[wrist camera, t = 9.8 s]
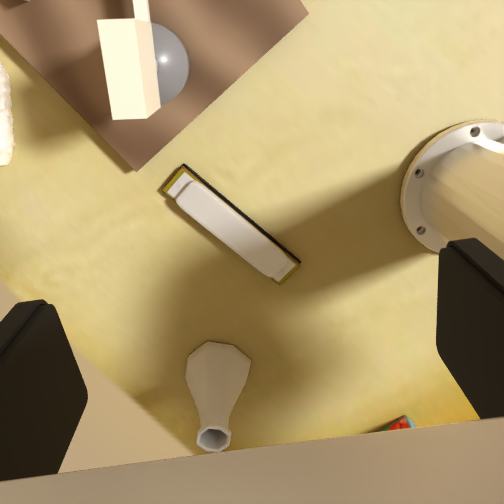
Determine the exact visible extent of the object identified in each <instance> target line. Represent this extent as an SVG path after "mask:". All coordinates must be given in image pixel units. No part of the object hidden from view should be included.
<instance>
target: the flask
mask: <svg viewBox="0 0 504 504" xmlns="http://www.w3.org/2000/svg"><path fill="white" fill-rule="evenodd" d="M251 362H252V361H251V360H250V359H249V358H248V357H247V356H245V355H244V354H243V353H242V352H241V351H240V350H239V349H237V348H236V347H235V346H234V345H229V344H222V343H215V342H208V341H207V342H206V343H204V344H203V345H202V346H200V347H199V348H198V349H197V350H195V351H194V352H193V353H192V354H190V355H189V356H188V359H187V365H186V371H185V380H186V383H187V385H188V387H189V389H190V392H191V394H192V396H193V399H194V402H195V404H196V407H197V410H198V413H199V420H200V429H199V430H198V432H197V437H196V445H198V446H199V447H200V448H202V449H203V450H204V451H208V452H216V453H217V452H221V451H222V450H224V449H225V448H227V447H228V446H229V444H230V440H231V436H232V433H231V431H230V430H229V417H230V414H231V412H232V409H233V407H234V405H235V403H236V401H237V399H238V397H239V395H240V393H241V391H242V390H243V388H244V386H245V384H246V382H247V378H248V374H249V370H250V366H251Z"/></svg>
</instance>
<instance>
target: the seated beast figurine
mask: <svg viewBox="0 0 504 504" xmlns="http://www.w3.org/2000/svg"><path fill="white" fill-rule="evenodd" d="M10 93H11V89H10V82H9V75H8V73H7V72H6V71H5V69H4V67H3V65H2V64H1V62H0V165H7V164H9V163H10V160H11V158H12V152H13V147H14V146H15V143H14V135H13V133H12V131H13V130H14V128H13V126H12V124H13V116H12V113H11V110H10V108H11V106H12V102H11V97H10Z"/></svg>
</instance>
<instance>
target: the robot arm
mask: <svg viewBox="0 0 504 504" xmlns="http://www.w3.org/2000/svg"><path fill="white" fill-rule="evenodd" d="M472 128H473V130H472V132H471V133H470V130H471V129H472ZM416 170H419V171H418V173H416V174H415V171H416ZM400 205H401V212H402V216H403V219H404V221H405V224H406V226H407V227H408V229H409V230H410V232H411V233H412V235H413V236H414V237H415V238H416V239H417V240H418V241H419V242H420V243H422V244H423V245H424V246H426V247H427V248H428V249H431V250H433V251H435V252H437V253H439V268H438V298H437V327H436V346H437V350H438V353H439V355H440V357H441V359H442V360H443V362H444V363H445V365H446V366H447V368H448V370H449V371H450V373H451V374H452V376H453V377H454V379H455V380H456V382H457V383H458V385H459V386H460V388H461V390H462V391H463V393H464V394H465V396H466V397H467V399H468V400H469V402H470V403H471V405H472V406H473V408H474V410H475V411H476V413H477V414H478V416H479V417H480V420H471V421H463V422H455V423H447V424H439V425H431V426H423V427H415V428H407V429H398V430H390V431H382V432H374V433H366V434H358V435H350V436H342V437H334V438H326V439H319V440H311V441H303V442H295V443H287V444H279V445H271V446H264V447H256V448H248V449H240V450H232V451H225V452H217V453H209V454H202V455H194V456H187V457H179V458H171V459H164V460H157V461H149V462H141V463H133V464H126V465H118V466H110V467H103V468H95V469H88V470H81V471H74V472H67V473H59V474H57V473H58V471H59V469H60V466H61V464H62V461H63V459H64V457H65V454H66V452H67V449H68V447H69V445H70V442H71V440H72V437H73V435H74V433H75V431H76V428H77V426H78V423H79V421H80V419H81V416H82V414H83V411H84V409H85V407H86V404H87V400H88V394H87V388H86V386H85V383H84V380H83V378H82V375H81V373H80V370H79V367H78V365H77V362H76V360H75V357H74V355H73V352H72V349H71V347H70V344H69V342H68V339H67V336H66V334H65V331H64V329H63V326H62V324H61V321H60V318H59V316H58V313H57V311H56V308H55V307H54V306H53V305H52V304H48V303H47V302H46V301H45V300H43V299H41V300H34V301H27V302H20V303H17V304H16V305H15V306H14V307H13V308H12V309H11V310H10V311H9V313H8V314H7V315H6V316H5V317H4V318H3V320H2V321H1V322H0V504H504V123H503V122H499V121H495V120H475V121H468V122H464V123H461V124H458V125H455V126H452V127H451V128H449V129H447V130H445V131H443V132H441V133H439V134H438V135H437V136H436V137H434V138H433V139H432V140H430V141H429V142H428V143H427V144H426V145H425V146H424V147H423V148H422V149H421V150H420V151H419V152H418V153H417V155H416V156H415V158H414V159H413V161H412V162H411V164H410V166H409V168H408V170H407V172H406V174H405V177H404V180H403V184H402V188H401V196H400ZM418 227H420V228H419V229H417V228H418Z"/></svg>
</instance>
